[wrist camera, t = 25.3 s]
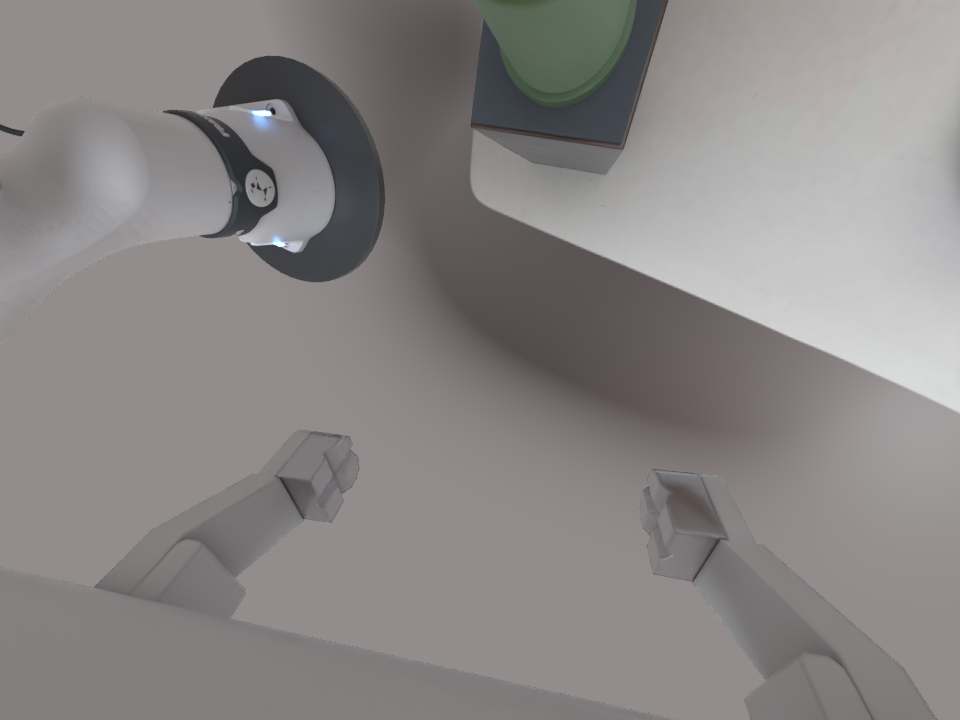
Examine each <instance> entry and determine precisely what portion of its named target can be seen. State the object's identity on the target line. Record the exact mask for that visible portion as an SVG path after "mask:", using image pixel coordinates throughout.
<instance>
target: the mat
mask: <svg viewBox="0 0 960 720" xmlns="http://www.w3.org/2000/svg"><path fill="white" fill-rule="evenodd" d="M663 1H664V0H637V3H636V12H635V17H634V23H633V27H632V31H631V34H630V38H629V41H628V45H627V47H626V50H625V52H624V55H623V57H622V59H621V60H620V62H619V64H618V66H617V68H616V69H615V71H614V72H613V74H612V75H611V76H610V78H609V79H608V80H607V81H606V82H605V83H604V84H603V85H602V86H601V87H600V89H598V90H597V91H596V92H595V93H594V94H592V95H591V96H589V97H588V98H586V99H585V100H583V101H581V102H579V103H577V104H574V105H571V106H567V107H561V108H551V107H545V106H542V105H539V104H536V103H534V102H533V101H531V100H529V99H528V98H527V97H526V96H524V95H523V94H522V93H521V92H520V90H519V89H518V88H517V86H516V85H515V84H514V82H513V81H512V79H511V78H510V76H509V74H508V72H507V70H506V68H505V65H504V63H503V60H502V56H501V52H500V47H499V43H498V42H497V40H496V38H495V37H494V35H493V33H492V32H491V30H490V28H489V27H488V25H487V23H486V22H485V20H484V22H483V30H482V39H481V47H480V55H479V64H478V72H477V81H476V89H475V97H474V106H473V114H472V122H474V123H477V124H483V125H490V126H497V127H504V128H511V129H518V130H524V131H531V132H538V133H545V134H552V135H558V136H565V137H572V138H579V139H586V140H593V141H599V142H606V143H613V144H621V143H622V140H623V136H624V133H625V130H626V126H627V123H628V120H629V116H630V113H631V109H632V106H633V103H634V99H635V96H636V93H637V89H638V86H639V82H640V79H641V76H642V72H643V69H644V66H645V62H646V59H647V55H648V52H649V49H650V45H651V42H652V39H653V35H654V32H655V28H656V25H657V22H658V18H659V15H660V12H661V8H662V5H663Z"/></svg>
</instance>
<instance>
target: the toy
mask: <svg viewBox="0 0 960 720" xmlns="http://www.w3.org/2000/svg"><path fill="white" fill-rule="evenodd" d="M473 1H474V3H475V5H476V7H477V8H478V10H479V12H480V13H481V15H482V17H483V18H484V20H485V22H486V23H487V25H488V27H489V28H490V30H491V32H492V33H493V35H494V37H495V38H496V40H497V42H498V43H499V47H500V52H501V56H502V60H503V63H504V65H505V68H506V70H507V72H508V74H509V76H510V78H511V79H512V81H513V82H514V84H515V85H516V86H517V88H518V89H519V90H520V92H521V93H522V94H523V95H524V96H526V97H527V98H528V99H529V100H531V101H533V102H534V103H536V104H539V105H542V106H545V107H551V108H561V107H567V106H571V105H574V104H577V103H579V102H581V101H583V100H585V99H586V98H588V97H589V96H591V95H592V94H594V93H595V92H596V91H597V90H598V89H600V87H601V86H602V85H603V84H604V83H605V82H606V81H607V80H608V79H609V78H610V76H611V75H612V74H613V72H614V71H615V69H616V68H617V66H618V64H619V62H620V60H621V59H622V57H623V55H624V52H625V50H626V47H627V45H628V41H629V38H630V34H631V31H632V27H633V23H634V17H635V12H636V3H637V0H473Z"/></svg>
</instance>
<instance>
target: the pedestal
mask: <svg viewBox="0 0 960 720" xmlns="http://www.w3.org/2000/svg"><path fill="white" fill-rule="evenodd" d="M667 3H668V0H664V1H663V5H662V8H661V12H660V15H659V18H658V22H657V25H656V28H655V32H654V35H653V39H652V42H651V45H650V49H649V52H648V55H647V59H646V62H645V66H644V69H643V72H642V76H641V79H640V82H639V86H638V89H637V93H636V96H635V99H634V103H633V106H632V109H631V113H630V116H629V120H628V123H627V126H626V130H625V133H624V136H623V140H622V143H621V144H613V143H606V142H599V141H593V140H586V139H579V138H572V137H565V136H558V135H552V134H545V133H538V132H531V131H524V130H518V129H511V128H504V127H497V126H490V125H483V124H477V123H474V122H472V119H471V127H472V128H473V129H475V130H477V131H478V132H480V133H482V134H484V135H485V136H487V137H489V138H490V139H492V140H494V141H496V142H497V143H499V144H501V145H503V146H504V147H506V148H508V149H509V150H511V151H513V152H515V153H516V154H518V155H520V156H521V157H523V158H525V159H527V160H528V161H530V162H532V163H537V164H543V165H549V166H555V167H561V168H567V169H574V170H580V171H586V172H592V173H598V174H604V175H606V174H607V172H608V171H609V169H610V168H611V166H612V165H613V163H614V162H615V161H616V159H617V158H618V156H619V155H620V153H621V152H622V150H623V149H624V146H625V143H626V140H627V136H628V133H629V130H630V126H631V123H632V120H633V116H634V113H635V110H636V106H637V103H638V100H639V96H640V93H641V90H642V87H643V83H644V80H645V77H646V73H647V70H648V67H649V63H650V60H651V57H652V53H653V50H654V47H655V43H656V40H657V37H658V33H659V30H660V27H661V23H662V20H663V17H664V13H665V10H666V7H667ZM483 22H484V18H483ZM482 30H483V26H482ZM481 39H482V35H481ZM480 47H481V43H480ZM479 55H480V51H479ZM478 64H479V60H478ZM477 72H478V68H477ZM476 81H477V77H476ZM475 89H476V86H475ZM474 97H475V94H474ZM473 106H474V102H473ZM472 114H473V110H472Z"/></svg>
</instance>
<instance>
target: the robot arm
mask: <svg viewBox="0 0 960 720" xmlns="http://www.w3.org/2000/svg"><path fill="white" fill-rule="evenodd" d="M274 111H275V112H276V113H274ZM0 130H1V131H4V132H7V133H10V134H13V135H17V136H22V137H21V139H20V140H19V141H18V142H17V144H16V145H15V146H14V147H13V148H11V149H10V150H9V151H8V152H6V153H4V154H3V155H1V156H0V345H1V344H3V343H5V342H6V341H8V340H10V339H11V338H13V337H14V336H15V335H16V334H18V333H19V331H21V329H22V328H23V326H24V325H25V323H26V321H27V320H28V318H29V317H30V315H31V314H32V312H33V311H34V310H35V309H36V307H37V306H38V305H39V304H40V302H41V301H42V300H43V299H44V298H45V297H46V296H47V295H48V294H49V293H50V292H52V291H53V290H54V289H55V288H57V287H58V286H59V285H60V284H62V283H63V282H64V281H66V280H67V279H69V278H70V277H71V276H73V275H74V274H76V273H77V272H79V271H81V270H82V269H84V268H86V267H87V266H89V265H90V264H92V263H94V262H96V261H98V260H100V259H102V258H104V257H106V256H108V255H110V254H112V253H115V252H118V251H120V250H123V249H126V248H129V247H132V246H136V245H140V244H145V243H150V242H156V241H162V240H169V239H175V238H183V237H191V236H201V237H205V238H231V237H235V236H237V237H239V240H240V241H243V242H250V244H251V245H254V246H261V245H274V244H275V245H277V246H279V247H282V248H284V249H286V250H289V251H291V252H294V253H296V252H302V251H303V250H304V248H305V247H306V245H307V243H308V241H309V239H310V238H312V237H313V236H315V235H316V234H318V233H320V232H321V231H322V230H323V229H324V228H325V227H326V225H327V224H328V222H329V221H330V219H331V216H332V213H333V210H334V204H335V185H334V179H333V175H332V171H331V168H330V165H329V163H328V160H327V158H326V156H325V154H324V152H323V151H322V149H321V148H320V146H319V145H318V143H317V142H316V141H315V140H314V138H313V137H312V136H311V135H310V134H309V133H308V132H307V131H306V130H305V129H304V128H303V127H302V125H301V124H300V122H299V120H298V118H297V116H296V114H295V112H294V110H293V109H292V107H291V106H290V104H289V103H288V102H287V101H285V100H280V99H274V100H267V101H260V102H253V103H246V104H239V105H232V106H225V107H217V108H210V109H204V110H199V111H198V112H197V113H196V112H191V111H184V110H179V111H178V110H167V111H163V112H158V111H153V110H148V109H143V108H138V107H133V106H128V105H123V104H118V103H113V102H108V101H103V100H98V99H93V98H86V97H77V98H69V99H64V100H60V101H56V102H54V103H51V104H49V105H46V106H44V107H43V108H42V109H40V110H39V111H38V112H37V113H36V114H35V115H34V117H33V118H32V119H31V121H30V123H29V124H28V126H27V128H26V130H25V131H20V130H15V129H11V128H8V127H5V126H2V125H0ZM352 445H353V443H352V441H351V439H350V437H349V436H343V435H337V434H330V433H322V432H315V431H306V430H298V431H296V432H294V433H293V434H292V435H291V436H290V437H289V439H288V440H287V441H286V442H285V443H284V445H283V446H282V447H281V448H280V449H279V450H278V452H277V453H276V454H275V455H274V456H273V457H272V458H271V459H270V461H269V462H268V463H267V464H266V465H265V466H264V468H263V469H262V470H261V471H260V472H259V473H258V474H252V475H250V476H248V477H246V478H245V479H243V480H241V481H239V482H237V483H235V484H234V485H232V486H230V487H228V488H227V489H225V490H223V491H221V492H219V493H218V494H216V495H214V496H212V497H210V498H208V499H207V500H205V501H203V502H201V503H199V504H198V505H196V506H194V507H192V508H190V509H188V510H187V511H185V512H183V513H181V514H179V515H178V516H176V517H174V518H172V519H170V520H169V521H167V522H165V523H163V524H162V525H160V526H158V527H156V528H154V529H152V530H151V531H150V532H149V533H148V534H147V535H146V536H145V537H144V538H143V539H142V540H141V541H140V542H139V543H138V544H137V545H136V546H135V547H134V548H133V549H132V550H131V551H130V552H129V553H128V554H127V555H126V556H125V557H124V558H123V559H122V560H121V561H120V562H119V563H118V564H117V565H116V566H115V567H114V568H113V569H112V570H111V571H110V572H109V573H108V574H107V575H106V576H105V577H104V578H103V579H102V580H101V581H100V582H99V583H98V584H97V585H96V586H95V587H94V588H93V587H88V586H84V585H80V584H75V583H71V582H66V581H62V580H58V579H53V578H48V577H44V576H40V575H35V574H31V573H27V572H22V571H17V570H13V569H9V568H4V567H0V720H676V719H671V718H667V717H663V716H658V715H654V714H650V713H645V712H641V711H636V710H632V709H627V708H623V707H619V706H614V705H610V704H605V703H601V702H597V701H592V700H588V699H583V698H579V697H574V696H570V695H565V694H561V693H556V692H552V691H548V690H544V689H539V688H535V687H530V686H526V685H521V684H517V683H513V682H508V681H504V680H499V679H495V678H490V677H486V676H481V675H477V674H472V673H468V672H464V671H459V670H455V669H451V668H446V667H442V666H437V665H433V664H429V663H424V662H420V661H415V660H411V659H406V658H402V657H398V656H393V655H389V654H384V653H380V652H375V651H371V650H366V649H362V648H358V647H354V646H349V645H345V644H340V643H336V642H331V641H327V640H323V639H318V638H314V637H309V636H305V635H300V634H296V633H292V632H287V631H283V630H278V629H273V628H270V627H265V626H260V625H256V624H251V623H247V622H243V621H239V620H234V619H230V618H231V616H232V615H233V613H234V612H235V610H236V609H237V607H238V606H239V604H240V602H241V601H242V599H243V598H244V596H245V588H244V587H243V586H242V585H241V584H240V583H239V582H238V581H237V580H236V578H235V577H236V576H238V575H239V574H240V573H241V572H242V571H244V570H245V569H246V568H247V567H249V566H250V565H251V564H252V563H253V562H255V561H256V560H257V559H258V558H259V557H261V556H262V555H263V554H264V553H266V552H267V551H268V550H269V549H270V548H272V547H273V546H274V545H275V544H276V543H278V542H279V541H280V540H281V539H283V538H284V537H285V536H286V535H287V534H288V533H290V532H291V531H292V530H293V529H295V528H296V527H297V526H298V525H300V524H301V523H302V522H303V521H304V520H303V519H307V520H315V521H323V522H330V523H332V521H333V520H334V518H335V516H336V514H337V512H338V511H339V509H340V507H341V506H342V504H343V502H344V498H343V493H344V492H346V491H347V490H349V489H350V488H352V486H353V484H354V482H355V480H356V479H357V475H358V471H359V460H358V457H357V455H356V454H355V453H354V452H353V451H352V450H350V448H351V447H352ZM647 480H648V484H649V487H647V488H645V489H644V490H643V492H642V495H641V500H640V515H641V521H642V526H643V529H644V530H645V531H646V532H647V533H648V534H649V535H650V539H649V541H648V544H647V549H648V553H649V558H650V563H651V567H652V571H653V574H655V575H660V576H665V577H670V578H676V579H681V580H686V581H692V582H693V585H694V587H695V588H696V589H697V591H698V592H699V593H700V594H701V596H702V597H703V598H704V600H705V601H706V602H707V604H708V605H709V606H710V608H711V609H712V610H713V611H714V613H715V614H716V615H717V617H718V618H719V620H720V621H721V622H722V623H723V625H724V626H725V627H726V629H727V630H728V631H729V633H730V634H731V635H732V637H733V638H734V639H735V641H736V642H737V643H738V645H739V646H740V647H741V649H742V650H743V651H744V652H745V654H746V655H747V656H748V658H749V659H750V660H751V662H752V663H753V664H754V666H755V667H756V668H757V670H758V671H759V672H760V674H761V675H762V676H763V678H764V679H765V681H764V682H763V683H761V684H760V685H759V686H757V687H756V688H755V689H753V690H752V691H751V692H750V693H748V695H747V696H746V698H745V699H744V701H745V704H746V707H747V710H748V713H749V716H750V719H751V720H937V719H936V717H935V715H934V714H933V712H932V711H931V709H930V708H929V706H928V705H927V703H926V701H925V700H924V698H923V697H922V695H921V694H920V692H919V691H918V689H917V687H916V686H915V684H914V683H913V681H912V680H911V678H910V677H909V675H908V674H907V672H906V670H905V669H904V668H903V667H902V666H901V665H900V664H899V663H897V662H896V661H895V660H894V659H893V658H892V657H891V656H889V655H888V654H887V653H886V652H885V651H884V650H883V649H882V648H880V647H879V646H878V645H877V644H875V642H873V641H872V640H871V639H870V638H869V637H868V636H867V635H866V634H864V633H863V632H862V631H861V630H860V629H859V628H857V627H856V626H855V625H854V624H853V623H852V622H851V621H850V620H848V619H847V618H846V617H845V616H844V615H843V614H842V613H841V612H839V611H838V610H837V609H836V608H835V607H834V606H833V605H831V604H830V603H829V602H828V601H827V600H826V599H824V598H823V597H822V596H821V595H820V594H819V593H818V592H817V591H815V590H814V589H813V588H812V587H811V586H810V585H809V584H807V583H806V582H805V581H804V580H803V579H802V578H801V577H800V576H798V575H797V574H796V573H795V572H794V571H793V570H792V569H790V568H789V567H788V566H787V565H786V564H785V563H784V562H782V561H781V560H780V559H779V558H778V557H777V556H775V555H774V554H773V553H772V552H771V551H770V550H769V549H767V548H766V547H765V546H764V545H759V544H756V542H755V540H754V538H753V536H752V534H751V532H750V530H749V528H748V526H747V524H746V522H745V520H744V518H743V516H742V514H741V512H740V510H739V508H738V506H737V504H736V502H735V500H734V498H733V496H732V494H731V492H730V490H729V488H728V485H727V483H726V481H725V480H724V479H723V478H722V477H720V476H712V475H702V474H695V473H687V472H676V471H666V470H656V469H652V470H651V471H650V472H649V475H648V477H647Z"/></svg>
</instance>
